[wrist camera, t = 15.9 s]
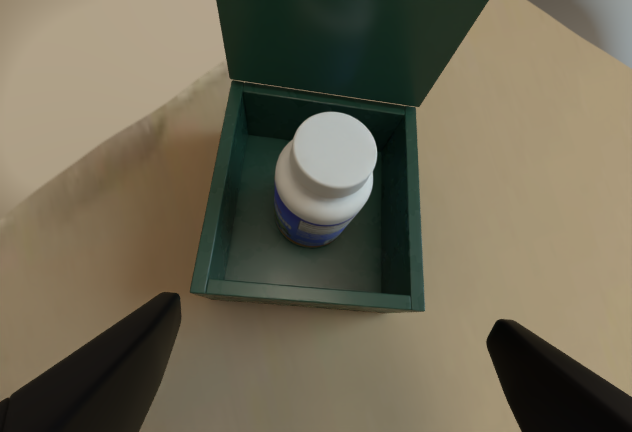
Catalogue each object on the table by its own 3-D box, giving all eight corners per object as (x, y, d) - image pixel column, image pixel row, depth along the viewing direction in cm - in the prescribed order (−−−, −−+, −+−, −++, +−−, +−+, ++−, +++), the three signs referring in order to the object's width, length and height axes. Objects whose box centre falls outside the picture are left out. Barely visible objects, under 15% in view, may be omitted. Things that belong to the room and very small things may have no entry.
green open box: (388, 313, 22) (425, 311, 17) (211, 299, 21) (189, 292, 15) (386, 150, 27) (416, 107, 21) (240, 130, 25) (231, 79, 20)
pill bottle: (272, 182, 23) (271, 95, 14) (340, 180, 24) (381, 97, 15) (276, 252, 22) (277, 204, 13) (349, 247, 23) (401, 199, 13)
